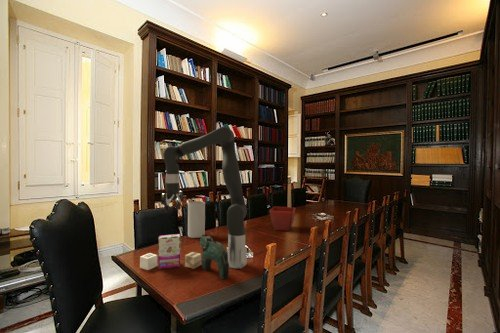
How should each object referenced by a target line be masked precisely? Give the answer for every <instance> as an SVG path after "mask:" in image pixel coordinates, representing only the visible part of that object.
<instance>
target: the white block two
mask: <svg viewBox="0 0 500 333" xmlns="http://www.w3.org/2000/svg"><path fill="white" fill-rule="evenodd" d="M156 267H158V254H155V253H152V252H149V253H148V252H147V253H146V254H143V255H141V256H139V268H140V269H143V270H145V271H150V270H152V269H155V268H156Z"/></svg>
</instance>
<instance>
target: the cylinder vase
mask: <svg viewBox="0 0 500 333" xmlns="http://www.w3.org/2000/svg"><path fill="white" fill-rule="evenodd" d="M205 225H206V202H205V201H201V200H200V201H199V200H197V201H196V200H195V201H188V202H187V236H188V237H189V238H190V239H191V238H192V239H200V238H201V237H202V234H203V235H204V236H206V234H205V233H206V231H205V228H206V226H205Z"/></svg>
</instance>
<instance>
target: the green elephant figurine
mask: <svg viewBox="0 0 500 333" xmlns="http://www.w3.org/2000/svg"><path fill="white" fill-rule="evenodd" d="M211 234H212V236H213V237H214V236H215V235H214V233H213V232H210V234H209V235H203V234H202V237H200V238H199V247H200V248H201V250H202V253H201V269H202V270H204V271H207V270H210V269H211V268H212V261H214V262H216V265H217V266H218V271H219V279H221V280H226V279H228V278H229V273H230V272H229V269H230V267H229V263H228V251H227V250H226V248H225V246H224V245H223V243H221V242H220V241H214V239H213V238H212V236H211Z"/></svg>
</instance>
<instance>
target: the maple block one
mask: <svg viewBox="0 0 500 333" xmlns="http://www.w3.org/2000/svg"><path fill="white" fill-rule="evenodd" d="M200 266H202V253H199V252H195V251H191V252H189V253H187V254H184V268H185V267H186V268H190V269H196V268H198V267H200Z"/></svg>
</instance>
